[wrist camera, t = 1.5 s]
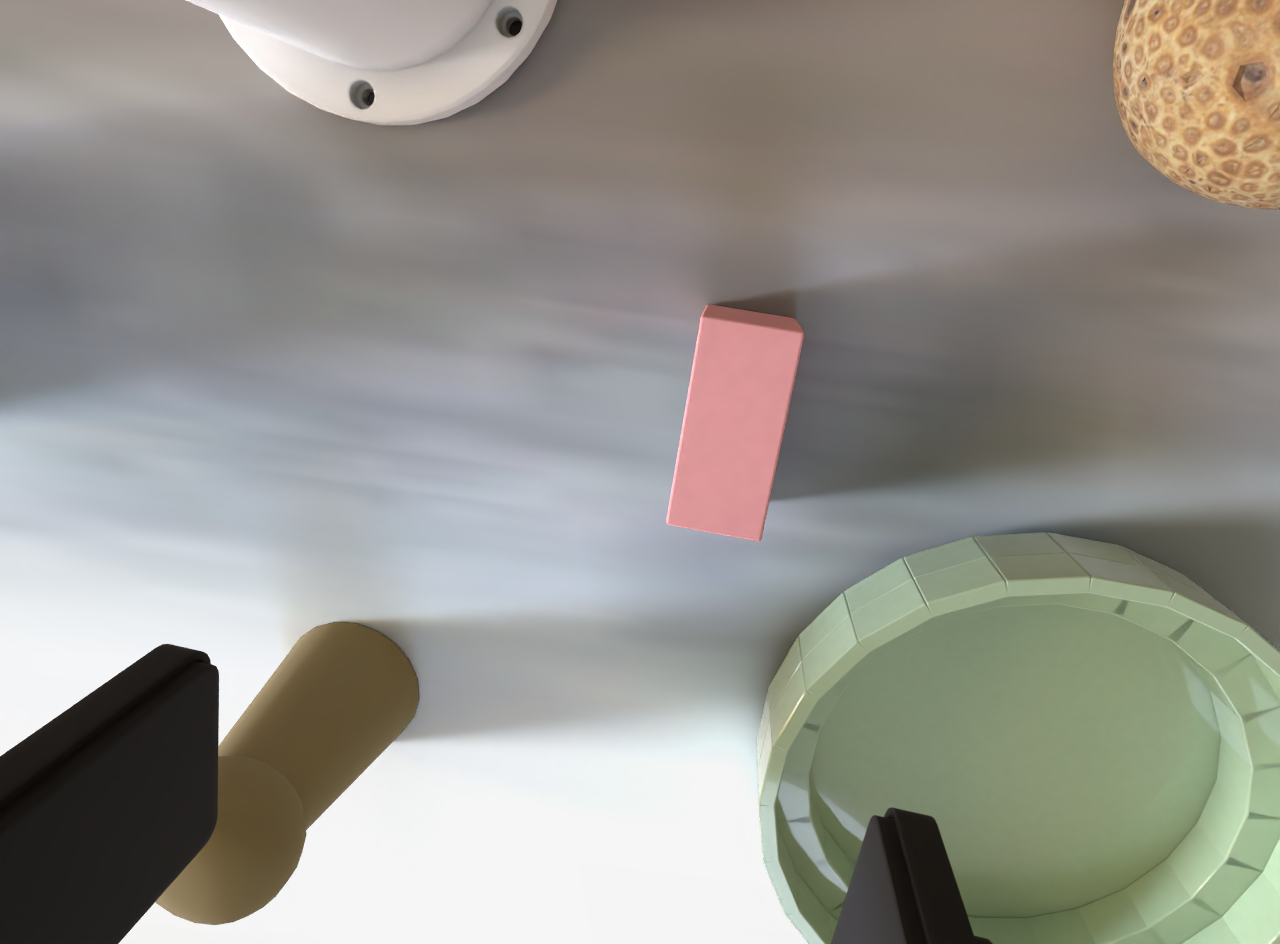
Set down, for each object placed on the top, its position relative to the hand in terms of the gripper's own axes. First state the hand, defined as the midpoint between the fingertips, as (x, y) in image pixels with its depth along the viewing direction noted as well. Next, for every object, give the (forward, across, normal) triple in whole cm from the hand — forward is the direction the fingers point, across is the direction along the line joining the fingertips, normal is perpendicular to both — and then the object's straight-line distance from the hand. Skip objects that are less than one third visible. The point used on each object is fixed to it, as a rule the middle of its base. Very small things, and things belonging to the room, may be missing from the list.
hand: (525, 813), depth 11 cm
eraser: (+20, -2, -2) cm, 20 cm away
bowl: (+20, -16, +10) cm, 27 cm away
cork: (+20, +12, +13) cm, 27 cm away
